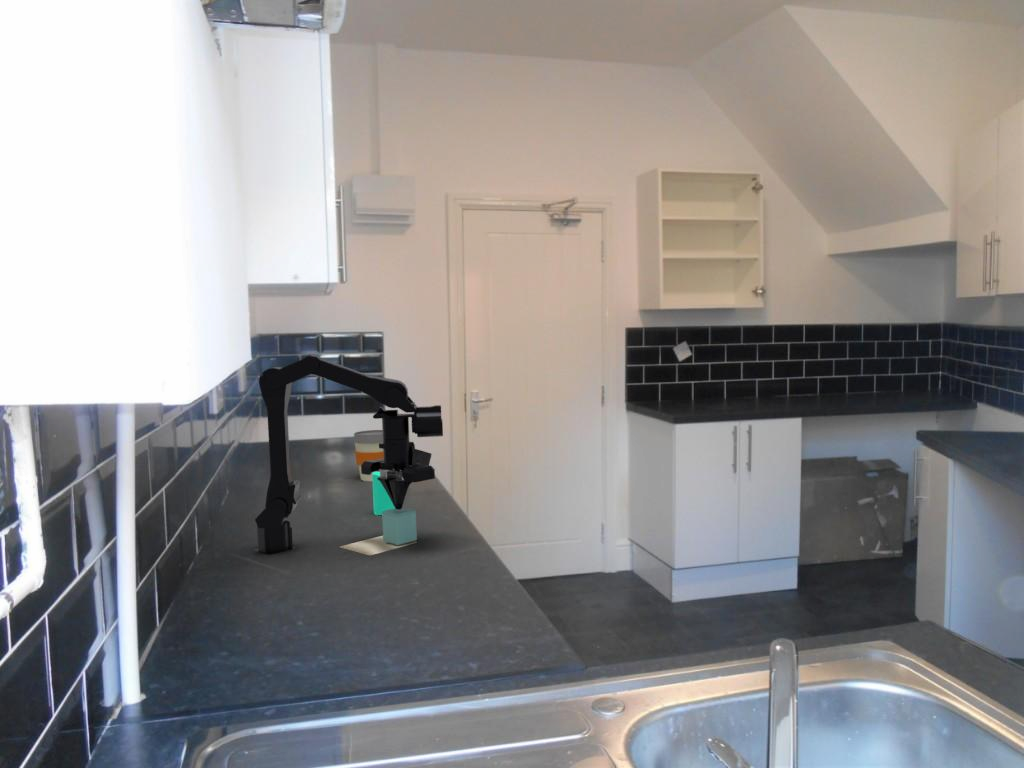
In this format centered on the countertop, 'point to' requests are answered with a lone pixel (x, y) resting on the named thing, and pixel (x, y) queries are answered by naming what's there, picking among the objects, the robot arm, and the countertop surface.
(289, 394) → the robot arm
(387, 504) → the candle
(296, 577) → the countertop surface
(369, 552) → the board
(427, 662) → the countertop surface
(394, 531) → the teal rectangular block
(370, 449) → the reusable coffee cup
